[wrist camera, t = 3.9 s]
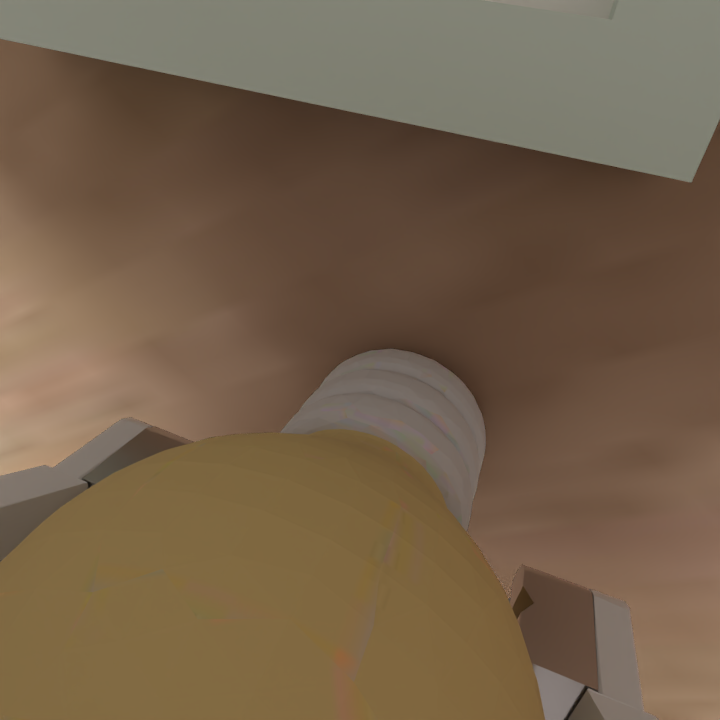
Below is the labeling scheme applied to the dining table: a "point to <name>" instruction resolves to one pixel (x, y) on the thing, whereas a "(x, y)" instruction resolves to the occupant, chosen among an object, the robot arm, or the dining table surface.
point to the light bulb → (277, 573)
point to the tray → (435, 63)
